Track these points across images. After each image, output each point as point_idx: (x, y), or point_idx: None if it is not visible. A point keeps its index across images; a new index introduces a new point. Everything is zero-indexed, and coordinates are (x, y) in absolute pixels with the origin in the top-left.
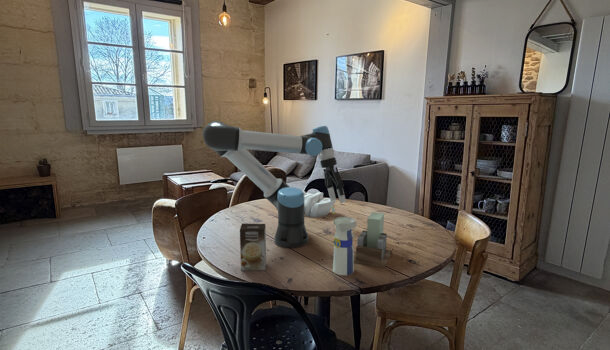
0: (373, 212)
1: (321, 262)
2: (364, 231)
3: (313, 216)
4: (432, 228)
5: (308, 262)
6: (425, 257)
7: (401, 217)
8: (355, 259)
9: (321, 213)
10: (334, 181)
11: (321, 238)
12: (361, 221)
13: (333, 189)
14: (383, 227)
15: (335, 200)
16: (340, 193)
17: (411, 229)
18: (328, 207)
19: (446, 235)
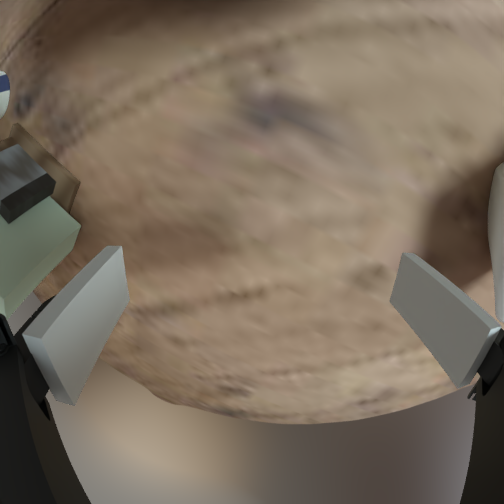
0: (2, 300)
1: (28, 41)
2: (4, 211)
3: (499, 168)
4: (203, 403)
5: (38, 7)
6: (50, 294)
7: (305, 406)
8: (11, 136)
9: (493, 212)
10: (8, 471)
11: (194, 54)
12: (339, 320)
13: (444, 367)
14: (36, 286)
15: (502, 321)
16: (41, 309)
17: (206, 378)
18: (494, 263)
19: (159, 392)
